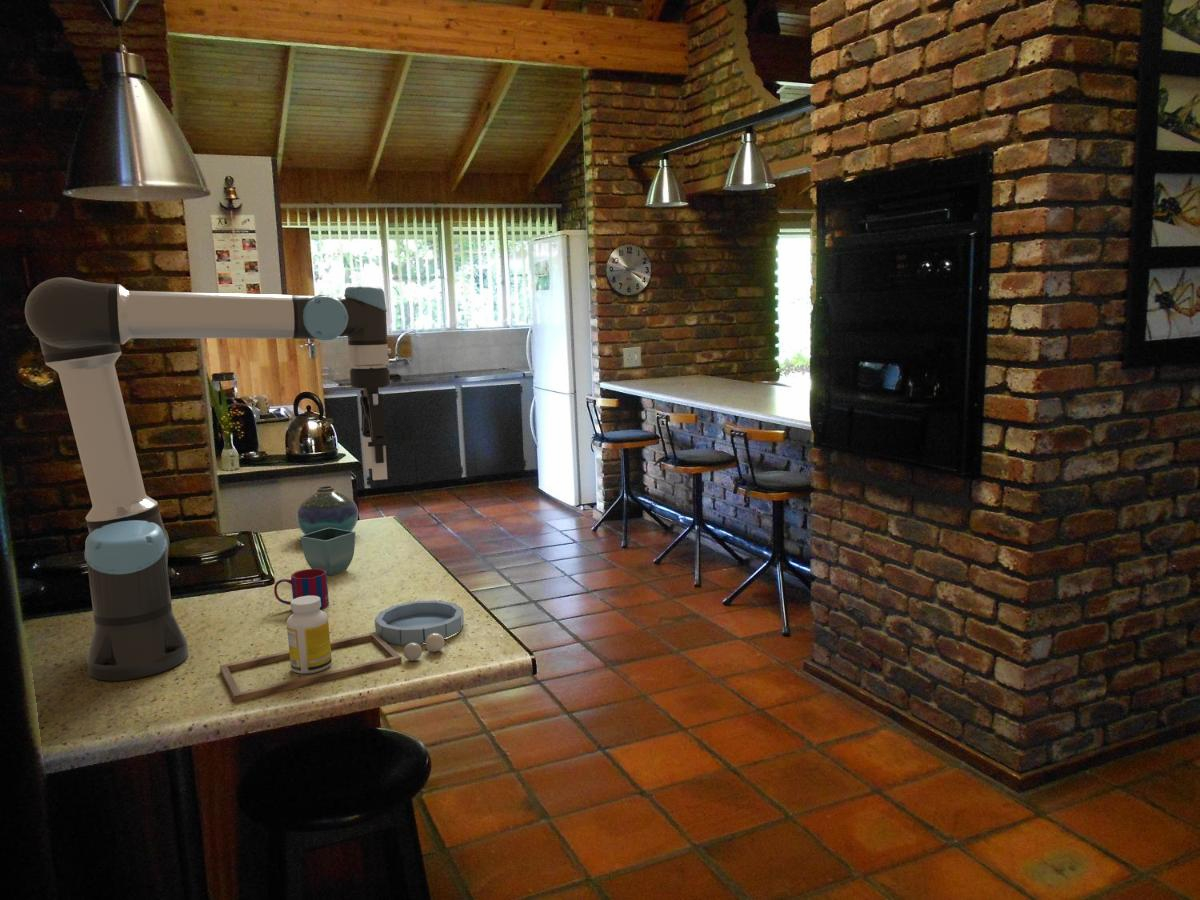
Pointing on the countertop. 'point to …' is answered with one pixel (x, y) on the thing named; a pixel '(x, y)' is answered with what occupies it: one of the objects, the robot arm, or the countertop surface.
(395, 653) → the open rectangular frame
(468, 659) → the countertop surface
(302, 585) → the mug
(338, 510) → the vase
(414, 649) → the glossy pale sphere
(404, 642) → the bowl
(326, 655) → the pill bottle
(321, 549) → the flower pot
